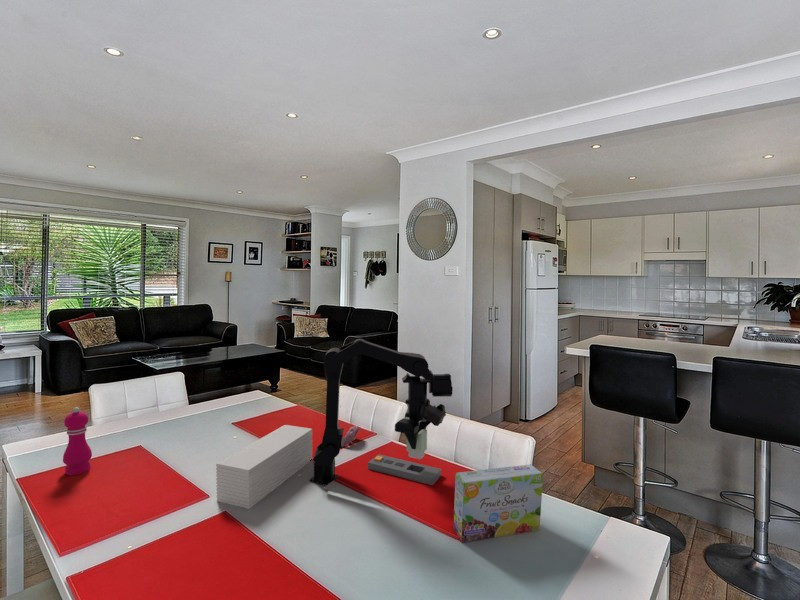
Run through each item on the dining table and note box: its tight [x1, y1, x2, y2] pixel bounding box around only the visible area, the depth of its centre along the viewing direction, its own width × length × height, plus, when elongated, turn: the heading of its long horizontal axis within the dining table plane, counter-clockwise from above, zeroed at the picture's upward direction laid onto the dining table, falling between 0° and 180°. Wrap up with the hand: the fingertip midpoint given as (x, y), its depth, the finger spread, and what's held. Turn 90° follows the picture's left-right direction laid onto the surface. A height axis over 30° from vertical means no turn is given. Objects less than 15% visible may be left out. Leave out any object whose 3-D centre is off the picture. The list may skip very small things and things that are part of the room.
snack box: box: [453, 464, 544, 544], centre depth 105 cm, size 21×6×15 cm, turn 106°
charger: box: [405, 429, 428, 460], centre depth 131 cm, size 4×5×8 cm
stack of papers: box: [215, 424, 313, 510], centre depth 130 cm, size 32×11×11 cm, turn 161°
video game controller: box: [343, 425, 361, 447], centre depth 158 cm, size 10×5×7 cm, turn 169°
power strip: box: [367, 454, 442, 486], centre depth 133 cm, size 7×22×4 cm, turn 63°
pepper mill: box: [62, 406, 93, 476], centre depth 132 cm, size 7×7×20 cm
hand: (416, 446), depth 131 cm, fingers closed on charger, 4 cm apart
